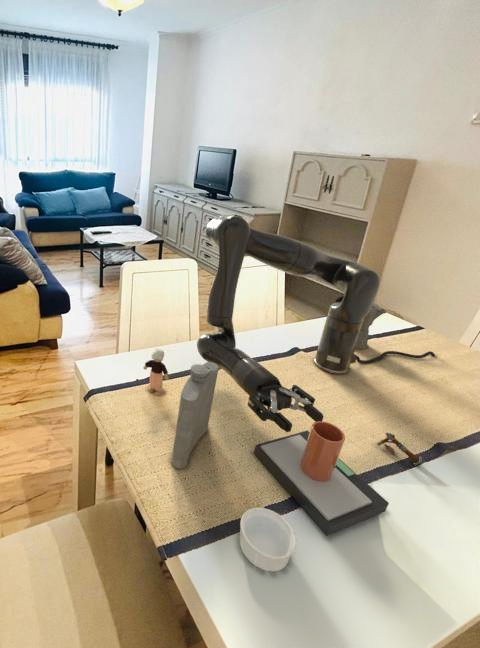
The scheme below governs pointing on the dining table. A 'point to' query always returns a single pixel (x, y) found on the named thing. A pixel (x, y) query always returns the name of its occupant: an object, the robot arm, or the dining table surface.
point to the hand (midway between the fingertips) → (306, 424)
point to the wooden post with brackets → (401, 447)
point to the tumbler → (322, 451)
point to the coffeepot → (366, 323)
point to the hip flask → (194, 411)
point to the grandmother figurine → (157, 372)
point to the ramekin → (266, 539)
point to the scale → (320, 486)
